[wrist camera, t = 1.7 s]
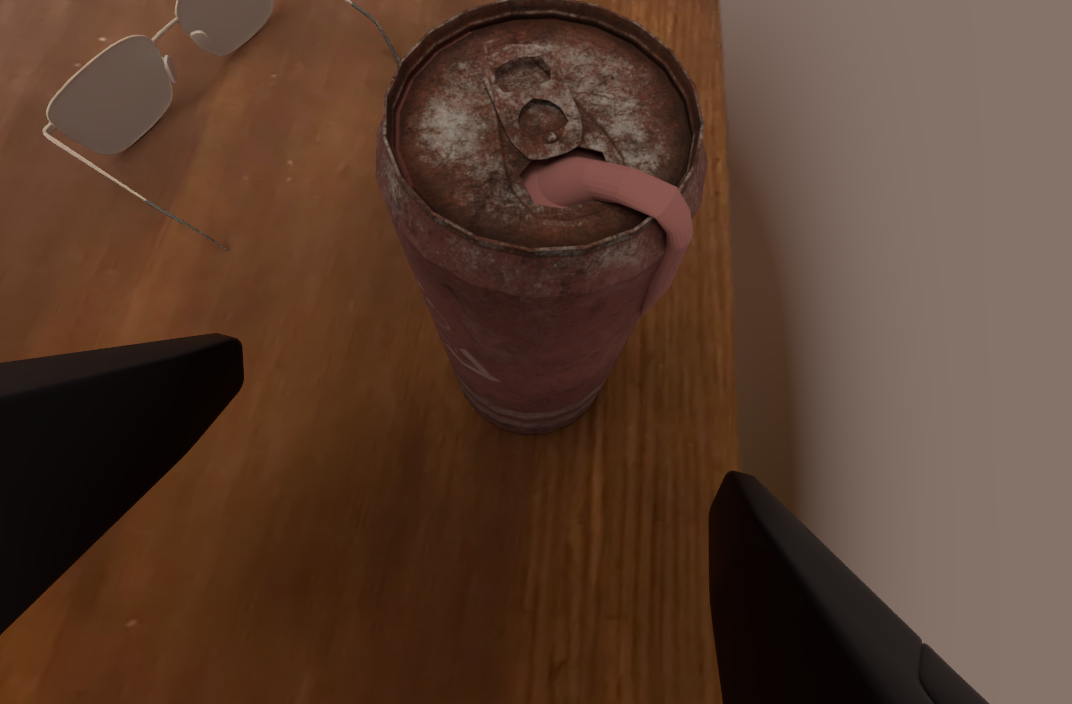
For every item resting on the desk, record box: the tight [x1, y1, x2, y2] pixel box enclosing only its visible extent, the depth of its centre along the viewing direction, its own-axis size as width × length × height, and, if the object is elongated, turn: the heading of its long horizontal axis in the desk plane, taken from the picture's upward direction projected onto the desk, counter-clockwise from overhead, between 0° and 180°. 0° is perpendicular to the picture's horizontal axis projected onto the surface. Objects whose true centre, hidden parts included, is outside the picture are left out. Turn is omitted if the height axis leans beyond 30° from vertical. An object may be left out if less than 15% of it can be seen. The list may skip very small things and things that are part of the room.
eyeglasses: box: [43, 0, 400, 251], centre depth 24 cm, size 14×8×4 cm, turn 149°
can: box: [376, 0, 707, 434], centre depth 15 cm, size 6×6×14 cm
